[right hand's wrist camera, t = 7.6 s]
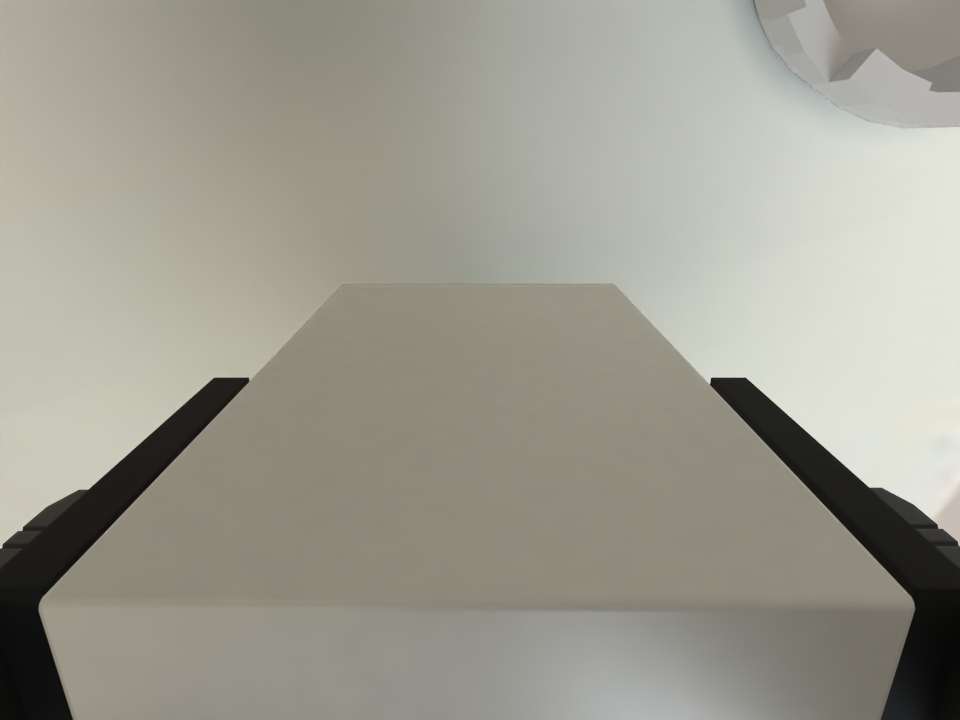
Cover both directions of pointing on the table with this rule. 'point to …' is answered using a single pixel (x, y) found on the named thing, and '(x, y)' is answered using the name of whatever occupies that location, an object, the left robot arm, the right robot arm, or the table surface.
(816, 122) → the table surface
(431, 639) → the box
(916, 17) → the flag stand
